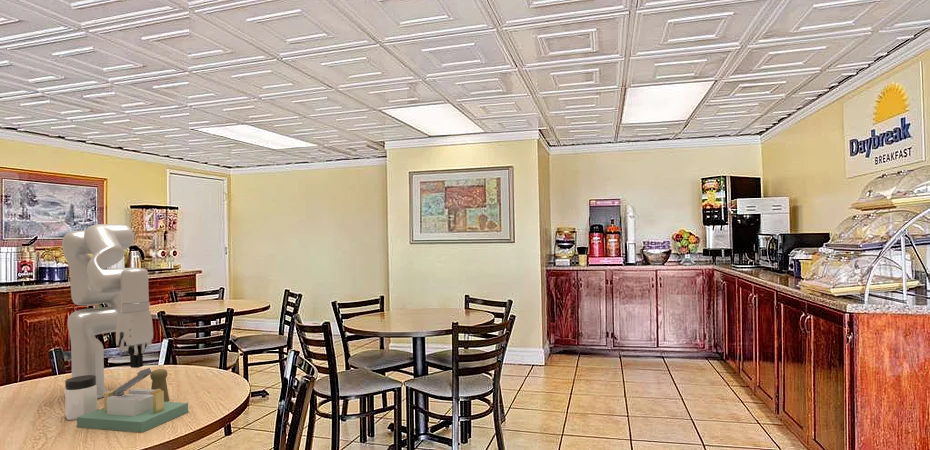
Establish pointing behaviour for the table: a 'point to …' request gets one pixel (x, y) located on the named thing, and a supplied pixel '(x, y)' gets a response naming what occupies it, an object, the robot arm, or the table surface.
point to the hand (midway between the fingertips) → (136, 367)
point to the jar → (80, 396)
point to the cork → (160, 382)
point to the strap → (133, 381)
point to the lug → (158, 400)
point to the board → (132, 420)
